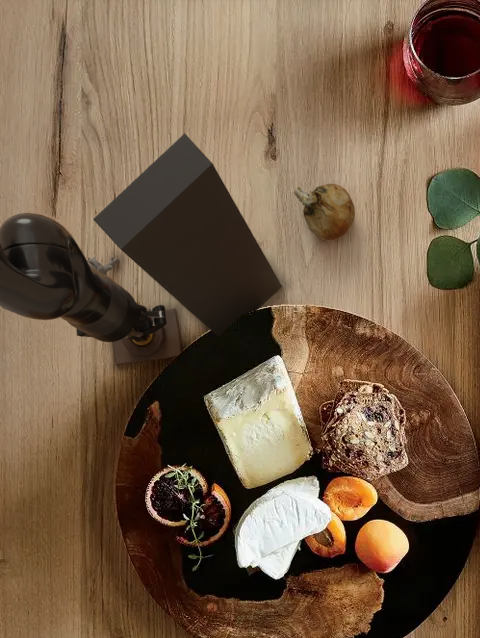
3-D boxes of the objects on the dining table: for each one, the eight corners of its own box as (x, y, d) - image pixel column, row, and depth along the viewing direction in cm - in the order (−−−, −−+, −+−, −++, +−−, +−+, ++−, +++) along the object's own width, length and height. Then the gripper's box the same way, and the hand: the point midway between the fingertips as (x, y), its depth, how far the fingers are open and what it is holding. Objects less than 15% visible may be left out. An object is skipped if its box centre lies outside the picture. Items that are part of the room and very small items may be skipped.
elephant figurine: (83, 229, 123) (126, 246, 120) (91, 266, 127) (134, 283, 124) (29, 255, 117) (73, 273, 114) (40, 293, 121) (83, 312, 118)
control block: (117, 365, 123) (111, 362, 120) (110, 318, 123) (104, 315, 120) (182, 356, 123) (178, 353, 120) (176, 309, 123) (172, 305, 120)
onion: (314, 254, 122) (308, 236, 114) (297, 202, 122) (290, 181, 114) (363, 237, 122) (360, 219, 114) (346, 186, 122) (342, 164, 114)
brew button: (135, 348, 122) (131, 346, 120) (132, 326, 122) (128, 324, 120) (156, 345, 122) (153, 343, 120) (153, 323, 122) (150, 321, 120)
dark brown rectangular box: (151, 262, 123) (8, 127, 79) (210, 207, 122) (99, 40, 78) (223, 341, 122) (120, 249, 78) (282, 286, 122) (212, 163, 78)
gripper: (48, 342, 103) (100, 365, 120) (152, 328, 103) (189, 353, 120) (41, 282, 103) (94, 315, 120) (144, 268, 103) (183, 302, 120)
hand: (141, 334), depth 120 cm, fingers closed
